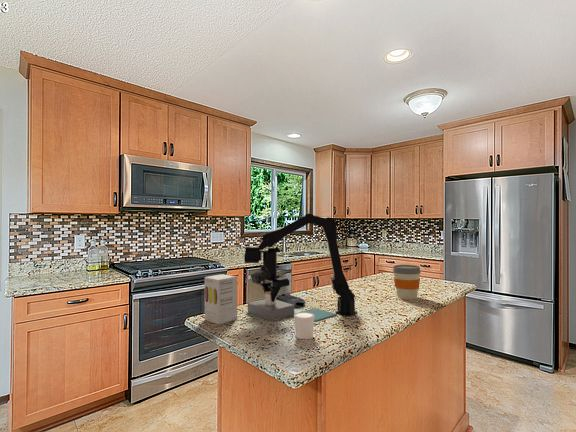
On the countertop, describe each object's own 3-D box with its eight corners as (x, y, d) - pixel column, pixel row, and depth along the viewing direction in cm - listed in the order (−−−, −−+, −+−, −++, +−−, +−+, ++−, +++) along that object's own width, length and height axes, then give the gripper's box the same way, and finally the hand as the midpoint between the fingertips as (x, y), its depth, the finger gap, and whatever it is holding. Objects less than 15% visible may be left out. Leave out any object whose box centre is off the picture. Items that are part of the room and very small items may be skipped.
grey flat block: (294, 314, 129) (294, 304, 129) (270, 321, 121) (270, 310, 121) (270, 306, 141) (270, 297, 141) (247, 312, 133) (247, 302, 133)
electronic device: (274, 305, 149) (292, 308, 137) (274, 293, 151) (292, 294, 138) (290, 305, 154) (309, 307, 142) (290, 293, 156) (309, 294, 143)
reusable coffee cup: (423, 296, 156) (422, 265, 157) (418, 301, 146) (417, 269, 146) (397, 293, 163) (396, 264, 163) (390, 298, 152) (390, 267, 153)
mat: (336, 315, 127) (336, 314, 127) (315, 321, 120) (315, 320, 120) (315, 309, 136) (315, 308, 136) (294, 314, 129) (294, 313, 129)
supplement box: (203, 320, 124) (203, 276, 124) (222, 314, 131) (222, 273, 131) (218, 325, 118) (218, 279, 118) (238, 319, 124) (237, 276, 125)
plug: (275, 313, 131) (275, 291, 131) (269, 315, 129) (269, 292, 129) (271, 312, 133) (271, 290, 133) (265, 313, 131) (265, 291, 131)
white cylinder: (293, 332, 108) (292, 312, 108) (313, 331, 109) (312, 311, 109) (295, 340, 101) (294, 318, 101) (316, 339, 102) (316, 317, 102)
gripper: (241, 262, 133) (241, 300, 133) (267, 267, 119) (268, 309, 119) (262, 260, 140) (263, 295, 140) (290, 264, 126) (290, 303, 126)
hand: (270, 300), depth 131 cm, fingers closed on plug, 3 cm apart
